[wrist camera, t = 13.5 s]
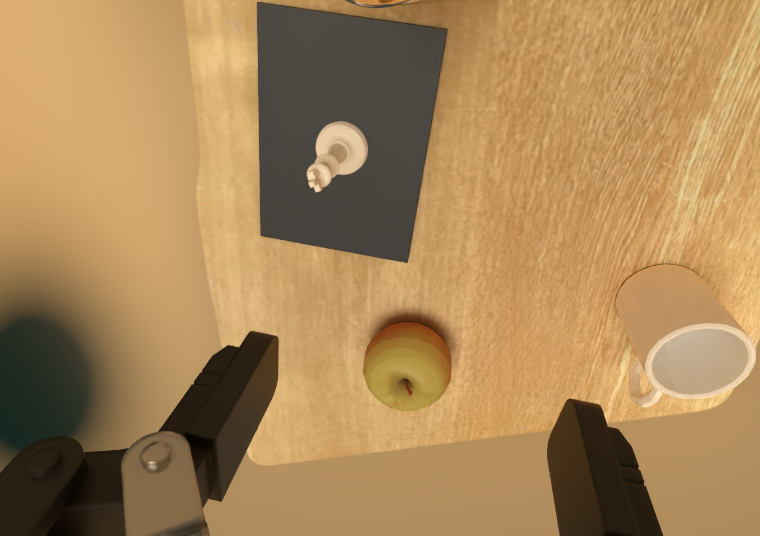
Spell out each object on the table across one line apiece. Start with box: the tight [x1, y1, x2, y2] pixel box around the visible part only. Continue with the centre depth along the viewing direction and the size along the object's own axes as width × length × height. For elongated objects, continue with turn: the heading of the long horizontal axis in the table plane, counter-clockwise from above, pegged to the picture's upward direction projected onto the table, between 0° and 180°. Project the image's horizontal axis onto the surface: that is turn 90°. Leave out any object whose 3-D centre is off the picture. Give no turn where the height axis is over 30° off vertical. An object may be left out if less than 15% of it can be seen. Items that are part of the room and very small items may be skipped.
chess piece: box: [307, 121, 368, 192], centre depth 40 cm, size 5×5×10 cm
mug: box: [615, 264, 756, 408], centre depth 44 cm, size 8×12×10 cm
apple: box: [363, 322, 451, 411], centre depth 52 cm, size 10×10×8 cm
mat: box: [257, 2, 447, 263], centre depth 44 cm, size 22×16×1 cm
